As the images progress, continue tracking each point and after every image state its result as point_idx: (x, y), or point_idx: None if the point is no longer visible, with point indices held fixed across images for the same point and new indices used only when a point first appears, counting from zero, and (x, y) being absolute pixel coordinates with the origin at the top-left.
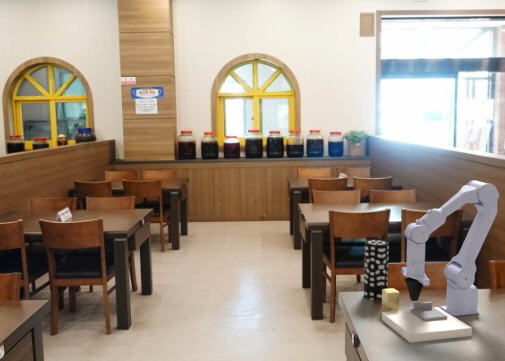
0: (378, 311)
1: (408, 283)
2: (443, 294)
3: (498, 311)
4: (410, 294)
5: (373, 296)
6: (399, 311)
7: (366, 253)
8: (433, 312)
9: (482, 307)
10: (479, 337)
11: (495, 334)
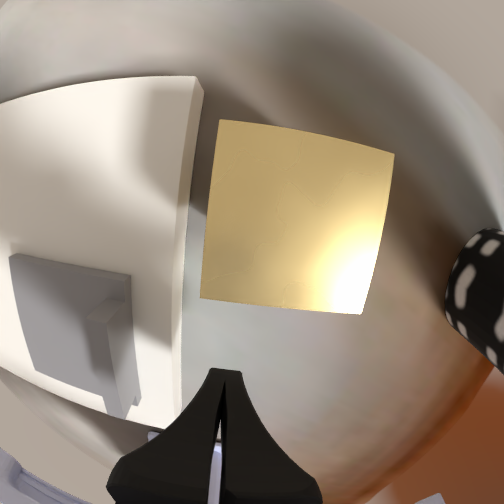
0: None
1: (209, 470)
2: (343, 480)
3: None
4: (227, 396)
5: (477, 250)
6: (160, 207)
7: None
8: (68, 357)
9: None
10: None
11: (25, 400)
